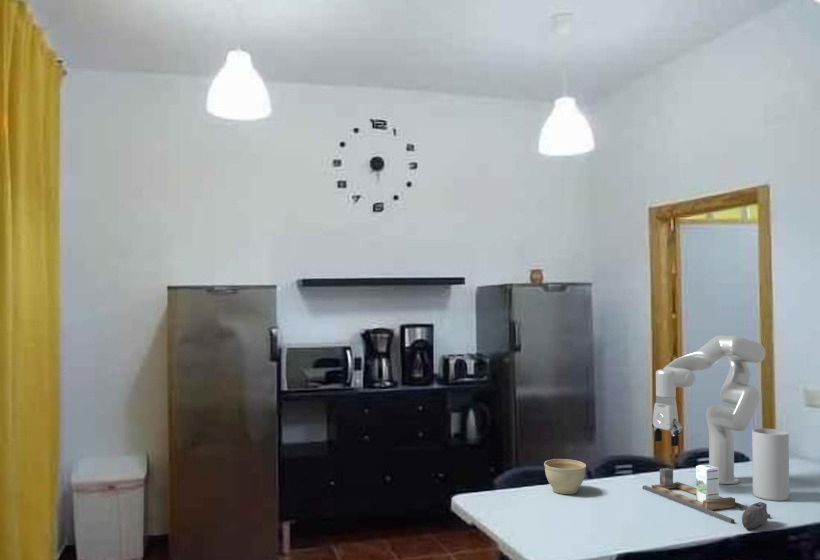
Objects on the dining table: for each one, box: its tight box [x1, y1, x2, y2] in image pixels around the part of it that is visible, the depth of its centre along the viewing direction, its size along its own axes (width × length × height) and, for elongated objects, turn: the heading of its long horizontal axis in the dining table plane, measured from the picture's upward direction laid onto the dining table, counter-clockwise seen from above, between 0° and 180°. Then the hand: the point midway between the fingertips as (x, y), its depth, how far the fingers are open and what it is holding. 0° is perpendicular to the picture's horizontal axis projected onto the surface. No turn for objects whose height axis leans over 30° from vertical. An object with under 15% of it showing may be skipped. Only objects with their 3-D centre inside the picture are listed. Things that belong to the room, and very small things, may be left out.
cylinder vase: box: [751, 428, 790, 502], centre depth 274 cm, size 12×12×25 cm
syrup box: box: [695, 464, 720, 502], centre depth 262 cm, size 6×6×14 cm
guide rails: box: [642, 481, 771, 524], centre depth 267 cm, size 46×18×1 cm, turn 20°
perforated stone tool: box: [741, 501, 769, 530], centre depth 239 cm, size 15×5×7 cm, turn 129°
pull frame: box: [650, 467, 736, 511], centre depth 272 cm, size 30×13×8 cm, turn 20°
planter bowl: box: [543, 458, 587, 495], centre depth 282 cm, size 16×16×11 cm
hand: (666, 443), depth 285 cm, fingers open, 9 cm apart
